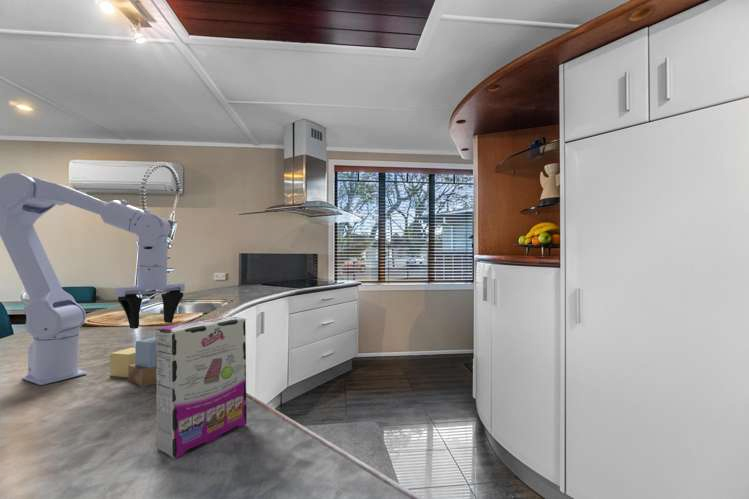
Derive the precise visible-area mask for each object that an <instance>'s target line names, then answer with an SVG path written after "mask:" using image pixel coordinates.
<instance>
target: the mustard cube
mask: <svg viewBox="0 0 749 499" xmlns="http://www.w3.org/2000/svg"><path fill="white" fill-rule="evenodd" d="M135 352H136V347H129V348H125V349H121V350H117V351H114V352H111V353H110V370H109V372H110V374H109V376H112V377H122V378H128V365H131V364H135Z"/></svg>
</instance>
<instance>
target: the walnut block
mask: <svg viewBox="0 0 749 499" xmlns="http://www.w3.org/2000/svg"><path fill="white" fill-rule="evenodd" d="M127 380H128V381H129V382H131V383H133V384H135V385H137V386H140V387H142V388H144V387H147V386H148V387H149V386H151V385H155V384H157V380H156V367H152V368H146V367H142V366H137V365H135V364H131V365H128V377H127Z"/></svg>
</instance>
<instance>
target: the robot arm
mask: <svg viewBox="0 0 749 499" xmlns="http://www.w3.org/2000/svg"><path fill="white" fill-rule="evenodd" d="M66 204H68V205H71V206H74V207H77V208H79V209H82V210H85V211H88V212H91V213H94V214H97V215H100V218H101V220H102V222H103V223H105V224H107V225H110V226H113V227H115V228H118V229H121V230H123V231H127V232H129V233H131V234H136V236H138V237H137V238H138V247H137V248H138V250H137V252H138V253H137V254H138V255H137V285H132V286H131V285H129V286H120V287H119V286H118V287H117V286H116V287H115V288H114V297H117V301H118V303H119V304H120V306H121V307H122V309H123V310H124V313H125V316H126V318H127V321H128V326H129V329H132V330H133V329H134V330H135V329H139V327H140V310H141V305H142V301H143V297H139V296H141V295H142V296H143V295H151V294H161V298H162V303H163V322H164V323H166V324H170V323H171V324H172V323H173V320H174V317H175V313H176V311H177V308H178V306H179V304H180V302H181V300H182V299H183V297H184V292H185V291H186V290H185V287H186V286H185V283H181V282H180V283H168V237H169V235H170V234H171V231H172V227H171V224H170V222H169V221H168V220H167V219H166V218H164V217H163V216H161V215H156V214H152V212H151V210H148V209H146V208H145V209H141V208H137V207H135V206H133V205H130V204H131V203H130V202H129V201H126V200H125V199H121V200H117V199H115V200H111V201H103V200H101V199H99V198H96V197H94V196H92V195H90V194H86V193H84V192H81V191H80V190H77V189H74V188H72V187H69V186H66V185H63V184H60V183H56V182H52V181H48V180H46V179H41V178H37V177H32V176H31V177H30V176H27V175H25V174H22V173H19V172H9V173H6V174H4V175H2V176H1V177H0V239H1V240H2V242H3V243H2V244H3V245H4V248H5V249H6V251H7V253H8V255H9V257H10V260H11V261H12V264H13V266H14V268H15V270H16V272H17V274H18V276H19V278H20V281H21V283H22V286H23V288H24V289H25V292H26V294H27V295H28V298H29V300H28V301H27V303H26V304H25V306H24V308H23V311H24V313H25V315H26V316H25V317H26V318H25V328H26V331H27V332H28V334H30V335H31V336H32V338H33V339H32V340H33V341H31V343H30V344H29V346H28V349H27V350H28V352H27V354H28V355H27V357H28V358H27V374H25V375H22V376H21V379H23V380H26V381H28V382H31V383H32V384H33V383H34V384H36V385H40V386H42V385H43V386H45V385H47V384H52V383H56V382H59V381H63V380H67V379H72V378H76V377H80V376H83V375H87V374H88V372H87V371H85V370H83V369H79V361H80V360H79V359H80V358H79V356H80V355H79V354H80V353H79V350H80V327H82V326H83V324H84V323H85V322H86V318H87V313H86V310H85V309H84V308H83V306H81V305H80V304H78V303H77V301H76V300H75V298H74V296H73V295H71V294H70V293H69V292H67V291H65V290H64V289H63V287H62V285H61V283H60V281H59V279H58V277H57V275H56V273H55V270H54V268H53V266H52V264H51V261H50V259H49V257H48V255H47V253H46V251H45V249H44V246H43V244H42V242H41V240H40V237H39V236H38V233H37V231H36V230H35V229H36V228H35V227H34V224H35V223H36V221H37V220H38V219H39V218H41V217H42V216H43V215H45V214H46V213H47V212H49V211H50V210H52V209H53V208H54V207H56V206H63V205H66Z"/></svg>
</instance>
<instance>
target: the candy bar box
mask: <svg viewBox="0 0 749 499" xmlns="http://www.w3.org/2000/svg"><path fill="white" fill-rule="evenodd" d="M246 329H247V328H246V318H244V317H237V316H231V315H230V316H229V315H228V316H223V317H222V316H221V317H216V318H211V319H205V320H200V321H193V322H187V323H183V324H176V325H169V326H165V327H164V326H163V327H159V328H156V329H155V337H156V380H157V383H156V386H155V387H156V388H155V389H156V390H155V391H156V397H155V399H156V400H155V401H156V449H157V451H159V452H160V453H162V454H164V455H166V456H168V457H169V458H172V459H173V460H176V459H179V458H181V457H183V456H185V455H187V454H189V453H192V452H194V451H195V450H197V449H199V448H202V447H204V446H206V445H207V444H209V443H212V442H213V441H216V440H218V439H220V438H222V437H223V436H225V435H228V434H230V433H231V432H234V431H235V430H238V429H240V428H242V427H244V426H246V425H247V344H246V342H247V341H246V340H247V338H246V335H247V334H246V333H247V332H246ZM243 425H244V426H243ZM241 426H242V427H241ZM239 427H240V428H239ZM237 428H238V429H237Z"/></svg>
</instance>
